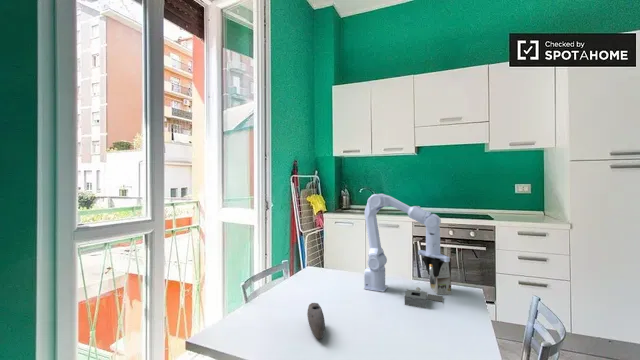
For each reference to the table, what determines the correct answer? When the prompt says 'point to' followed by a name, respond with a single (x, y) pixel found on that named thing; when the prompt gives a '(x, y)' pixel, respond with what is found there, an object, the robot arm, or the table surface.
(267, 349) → the table surface
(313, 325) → the perforated stone tool
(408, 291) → the block
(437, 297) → the mat
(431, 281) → the key peg
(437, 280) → the coffee box
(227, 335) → the table surface
